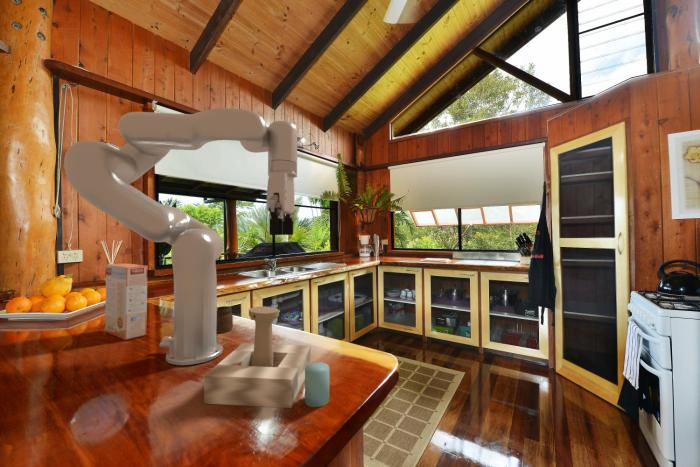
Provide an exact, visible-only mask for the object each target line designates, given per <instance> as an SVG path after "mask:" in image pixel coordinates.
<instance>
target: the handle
mask: <svg viewBox="0 0 700 467" xmlns="http://www.w3.org/2000/svg"><path fill="white" fill-rule="evenodd" d="M248 316H249V317H250V319H252V320H253V321H254V323H255V325H254V326H255V328H254V354H253V355H254V356H253V364H254V366H260V367H273V343H274V342H273V338H274V337H273V321H275V320H276V319H277V318H278V317H279V316H280V309H278V308H277V307H272V306H256V307H252V308H251V307H250V308H249V309H248Z"/></svg>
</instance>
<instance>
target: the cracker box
mask: <svg viewBox="0 0 700 467" xmlns="http://www.w3.org/2000/svg"><path fill="white" fill-rule="evenodd" d="M104 307H105V312H104V332H105V333H107V334H109V335H112V336H114V337H117V338H119V339H121V340H124V341H127V340H132V339H136V338H140V337H144V336H147V317H148V316H147V310H148V309H147V308H148V265H145V264H143V265H141V264H135V263H127V262H126V263H125V262H122V263H119V262H118V263H109V264H105V306H104Z"/></svg>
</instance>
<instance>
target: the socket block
mask: <svg viewBox="0 0 700 467" xmlns="http://www.w3.org/2000/svg"><path fill="white" fill-rule="evenodd" d="M253 354H254V343H252V342H251V343H249V342H242V343H241V344H239V346H238V347H236V348H235V349H234V350H233V351H232V352H230V353H229V354H228V355H227V356H225V357H224V358H223V359H222V360H221V361H220V362H219V363H217V364H216V365H215V366H214V367H213V368H211V369H210V370H209V371H207V372H206V374H204V377H203V383H204V384H203V387H204V388H203V403H204V404H206V405H207V404H209V405H210V404H211V405H229V406H230V405H231V406H247V407H263V408H264V407H265V408H282V409H283V408H284V409H292V408H293V406H294V403H295V401H296V399H297V397H298V395H299V392H300V390H301V389H302V386H303V383H305V367H306V366H307V365H308V364H311V345H303V344H302V345H301V344H298V345H297V344H279V343H278V344H276V343H275V344H273V367H260V366H254V364H253V356H254V355H253Z"/></svg>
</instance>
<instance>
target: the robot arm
mask: <svg viewBox="0 0 700 467" xmlns="http://www.w3.org/2000/svg"><path fill="white" fill-rule="evenodd" d="M117 128H118V131H119V133H120V136H121V137H122V139H123V140H124V141H125V142H126V144H124V145H123V146H121V147H120V148H119V149H118V148H115V147H113V146H111V145H109V144H106V143H104V142H99V141H95V140H80V141H77V142H74V143H73V144H71V145H70V146H69V147H68V149H67V150H66V151H65V155H64V159H63V166H64V172H65V176H66V177H67V178H66V179H67V181H68V182H69V184H70V185H71V187H72V188H73V189H74V190H75V192H76V193H77V194H78V195H79V196H80V197H81V198H83V199H84V200H85V201H86V202H88V203H89V204H91V205H92V206H93V207H95V208H97V209H98V210H100V211H101V212H102V213H104V214H106V215H107V216H109V217H111V218H113V219H114V220H115V221H117V222H118V223H120V224H122V225H123V226H125V227H127V228H128V229H130V230H131V231H133V232H135V233H137V234H138V236H140V237H142V238H143V239H145V240H146V241H147V240H148V241H150V242H154V243H167V244H168V245H170V246H171V250H170V251H171V252H170V254H171V255H170V256H171V262H172V263H171V265H172V270H173V336H167V335H166V336H163V337H162V339H161V341H160V343H159V347H160V348H168V351H167V353H166V354H165V361H166V362H167V363H168V364H171V365H176V366H191V365H196V364H198V365H199V364H201V363H206V362H208V361H209V362H210V361H211V360H214V359H216V358H218V357H220V355H221V354H223V350H224V347H223V344H221V343H220V342H217V333H216V324H217V307H218V303H217V302H218V297H217V296H218V290H217V288H218V286H217V285H218V282H217V281H218V280H217V278H218V277H217V266H216V265H217V264H216V260H218V259H219V258H220V257H221V255H222V254H223V253H224V252H223V251H224V250H225V249H224V247H225V245H224V240H223V239H222V237H221V235H220V234H219V233H218V232H216V231H215V230H214V229H212V228H210V227H209V226H207V225H206V224H204V223H203V222H201V221H199V220H198V219H197V218H195V217H193V215H190V214H188V213H187V212H186V211H183V210H182V209H179V208H177V207H175V206H171V205H166V204H164V203H160V202H158V201H156V200H155V199H153V198H151V197H150V196H148V195H146V194H145V193H143V192H142V191H141V190H139V189H137V188H136V187H134V186H132V185H131V183H134V182H136V181H137V180H138V179H140V178H141V177H142V176H143V175H145V174H146V173H147V172H148V171H149V170H151V169H152V168H153V167H154V166H156V165H157V164H158V163H159V162H160V161H161V160H163V159H164V158H165V157H166V156H167V155H168V154H169V152H171V150H174V151H175V150H177V151H179V150H181V151H197V150H199V149H201V148H202V147H203V146H204V145H205V144H208V143H211V142H216V141H237V142H239V143H240V145H241V146H242V147H243V149H244V150H246V152H250V153H255V154H256V153H267V176H268V180H267V188H266V205H265V206H266V208H265V209H266V210H267V211H268V212H269V216H268V217H269V235H270V236H293V235H294V212H295V181H294V180H295V178H297V177H298V129H297V126H296V125H295V124H294V123H292V122H290V121H286V120H275V121H272V122H271V123H270V124H269V126H267V125H266V122H265V119H264V118H263V117H262V115H260V114H258V113H257V112H255V111H252V110H250V109H244V108H231V107H230V108H228V107H225V108H224V107H220V108H217V107H216V108H210V109H207V110H201V111H198V112H196V113H191V114H190V113H172V112H171V113H170V112H153V111H152V112H150V111H148V112H147V111H130V112H127V113H124V115H122V116H121V117H120V118H119V120H118V126H117Z"/></svg>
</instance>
